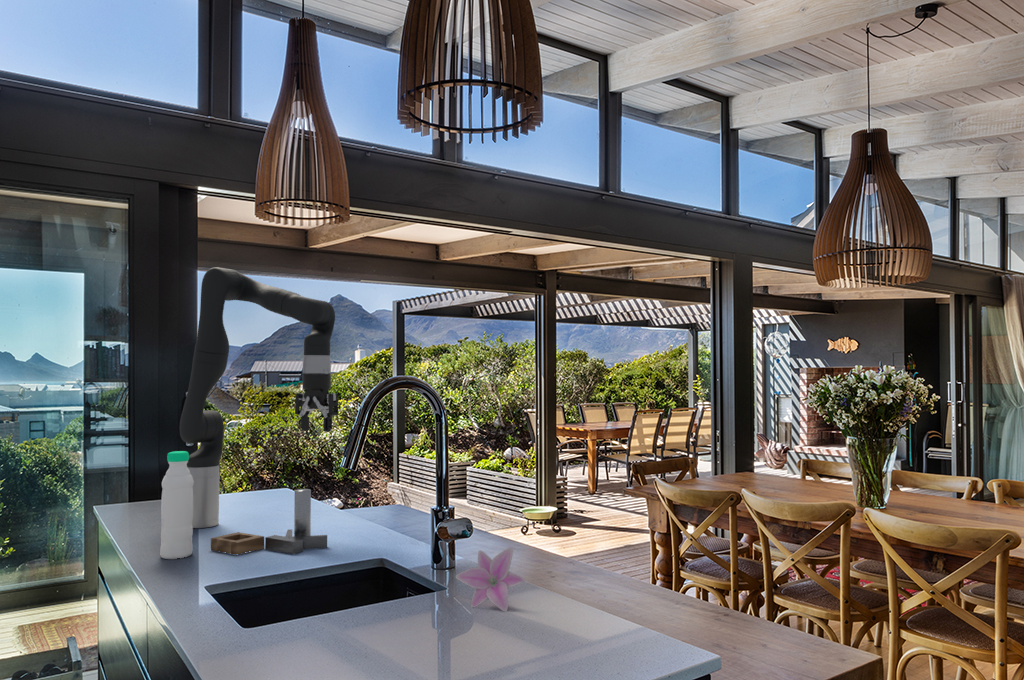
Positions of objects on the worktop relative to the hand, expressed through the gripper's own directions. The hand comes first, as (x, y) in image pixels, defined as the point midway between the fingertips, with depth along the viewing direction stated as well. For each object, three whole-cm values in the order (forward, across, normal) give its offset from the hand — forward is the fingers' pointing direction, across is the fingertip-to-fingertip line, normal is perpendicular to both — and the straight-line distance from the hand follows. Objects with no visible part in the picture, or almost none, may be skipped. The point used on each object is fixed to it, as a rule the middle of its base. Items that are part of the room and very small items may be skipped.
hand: (316, 431), depth 199 cm
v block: (+28, +7, -14) cm, 32 cm away
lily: (+28, +74, -26) cm, 84 cm away
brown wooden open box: (+28, -4, -22) cm, 36 cm away
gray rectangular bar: (+28, +7, -11) cm, 31 cm away
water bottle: (+28, -11, -34) cm, 46 cm away
